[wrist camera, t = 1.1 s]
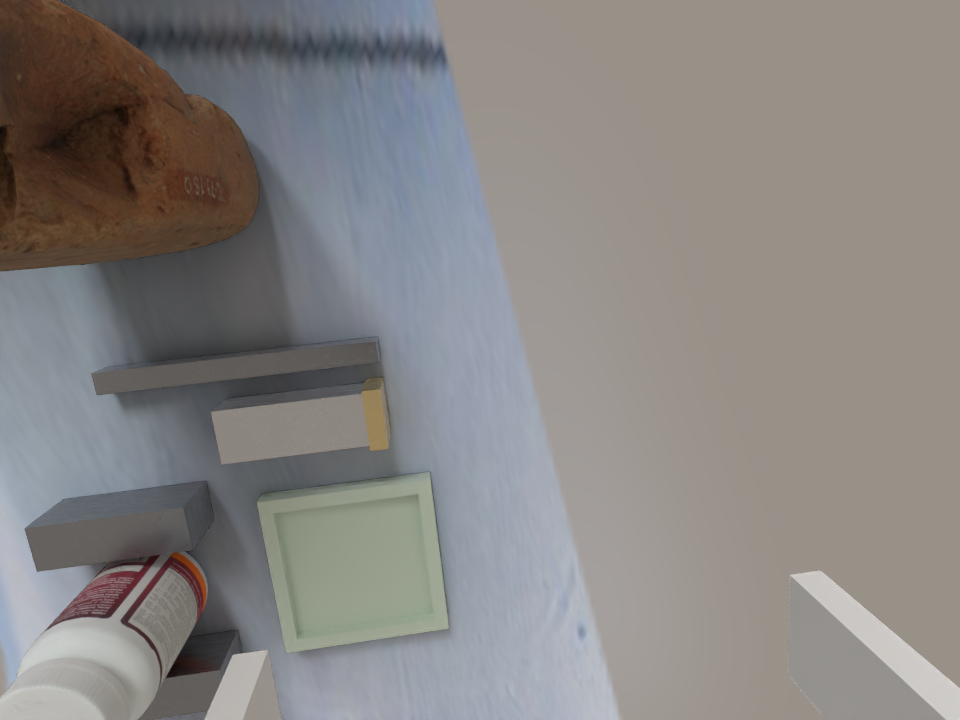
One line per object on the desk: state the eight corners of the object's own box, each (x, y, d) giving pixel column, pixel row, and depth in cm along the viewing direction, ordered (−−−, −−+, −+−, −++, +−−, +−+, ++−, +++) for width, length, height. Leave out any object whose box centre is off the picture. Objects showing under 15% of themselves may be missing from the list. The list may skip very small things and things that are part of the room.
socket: (63, 499, 34) (24, 528, 31) (205, 480, 35) (183, 507, 32) (113, 684, 37) (82, 730, 34) (245, 664, 38) (227, 707, 34)
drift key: (224, 395, 34) (208, 409, 31) (383, 377, 35) (380, 389, 32) (235, 451, 35) (220, 470, 32) (390, 432, 36) (388, 448, 33)
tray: (262, 493, 36) (256, 502, 34) (429, 471, 36) (430, 479, 35) (289, 640, 38) (285, 653, 37) (447, 616, 39) (448, 628, 37)
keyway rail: (105, 367, 33) (91, 373, 32) (377, 336, 34) (375, 341, 33) (110, 388, 33) (96, 395, 32) (380, 356, 35) (378, 362, 33)
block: (74, 266, 32) (-464, 320, 13) (36, 117, 30) (-650, -86, 11) (280, 243, 33) (76, 260, 13) (254, 97, 31) (-23, -127, 12)
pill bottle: (88, 608, 36) (-58, 773, 25) (128, 522, 35) (-5, 655, 24) (187, 644, 37) (89, 818, 26) (228, 562, 36) (145, 707, 25)
